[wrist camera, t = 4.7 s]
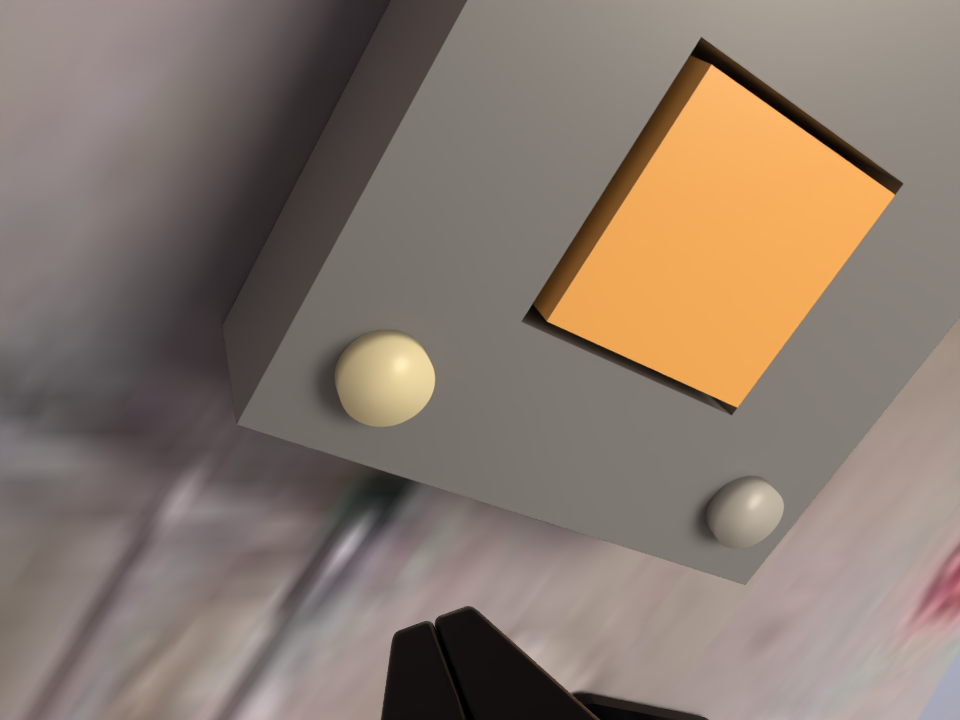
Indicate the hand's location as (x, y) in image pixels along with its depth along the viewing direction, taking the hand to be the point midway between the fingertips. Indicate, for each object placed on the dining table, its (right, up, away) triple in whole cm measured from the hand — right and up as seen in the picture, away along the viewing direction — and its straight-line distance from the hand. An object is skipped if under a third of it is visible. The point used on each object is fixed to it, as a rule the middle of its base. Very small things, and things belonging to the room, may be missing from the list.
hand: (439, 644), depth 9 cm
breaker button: (+4, +6, +11) cm, 13 cm away
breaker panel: (+4, +7, +12) cm, 15 cm away
